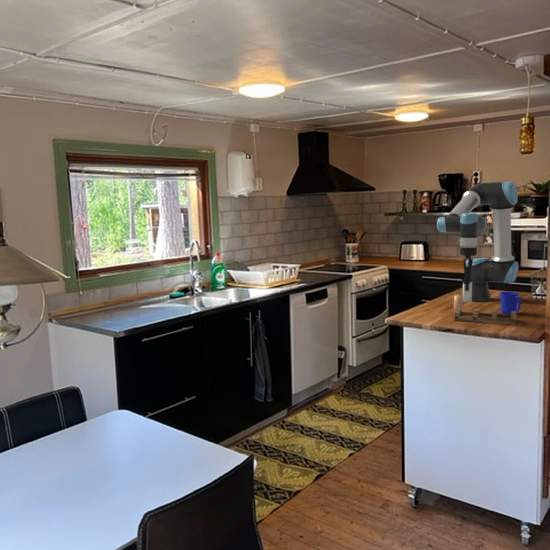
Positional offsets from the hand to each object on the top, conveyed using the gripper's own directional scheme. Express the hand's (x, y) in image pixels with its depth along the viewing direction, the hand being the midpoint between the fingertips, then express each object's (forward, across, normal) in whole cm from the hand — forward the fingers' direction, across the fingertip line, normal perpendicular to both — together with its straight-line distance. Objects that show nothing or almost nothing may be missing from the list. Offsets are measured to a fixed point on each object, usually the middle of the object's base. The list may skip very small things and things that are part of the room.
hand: (467, 296), depth 252 cm
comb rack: (+11, 0, +8) cm, 13 cm away
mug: (+11, -19, +19) cm, 29 cm away
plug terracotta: (+11, -12, -5) cm, 17 cm away
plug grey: (+2, 0, 0) cm, 2 cm away
